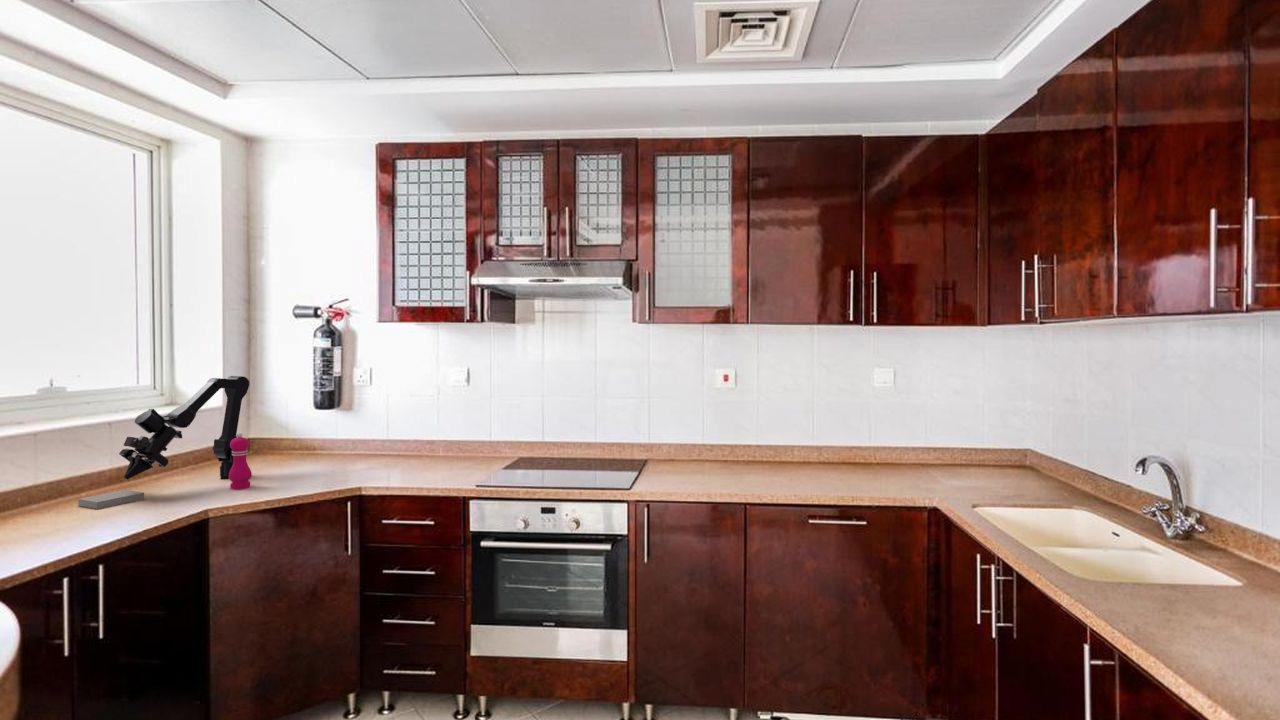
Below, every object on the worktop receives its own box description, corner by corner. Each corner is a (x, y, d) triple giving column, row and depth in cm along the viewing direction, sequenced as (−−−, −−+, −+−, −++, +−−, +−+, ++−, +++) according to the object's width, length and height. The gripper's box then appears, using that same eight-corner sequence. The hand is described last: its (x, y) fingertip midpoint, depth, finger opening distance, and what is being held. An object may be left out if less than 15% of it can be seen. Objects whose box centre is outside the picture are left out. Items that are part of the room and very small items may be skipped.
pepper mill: (227, 490, 236) (226, 435, 235) (229, 486, 242) (228, 432, 241) (251, 488, 239) (250, 433, 238) (252, 484, 245) (251, 431, 245)
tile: (125, 489, 227) (78, 499, 214) (144, 492, 223) (96, 502, 211) (126, 497, 227) (78, 507, 215) (144, 500, 224) (96, 510, 211)
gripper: (124, 425, 230) (88, 462, 221) (158, 429, 223) (123, 467, 213) (149, 444, 238) (115, 481, 228) (182, 448, 231) (149, 486, 221)
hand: (125, 478), depth 223 cm, fingers closed
